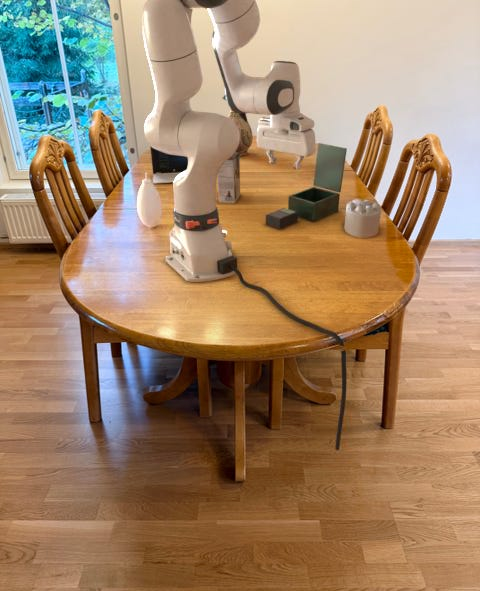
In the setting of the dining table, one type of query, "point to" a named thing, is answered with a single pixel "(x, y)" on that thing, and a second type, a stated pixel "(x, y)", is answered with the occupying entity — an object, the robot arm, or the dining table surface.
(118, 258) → the dining table surface
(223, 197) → the coffee box
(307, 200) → the case
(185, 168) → the laptop
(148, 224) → the sauce bottle
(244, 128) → the ceramic jug
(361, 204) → the lumpy-topped squat cylinder
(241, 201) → the dining table surface
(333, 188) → the case lid
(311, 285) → the dining table surface
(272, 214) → the dark grey block
